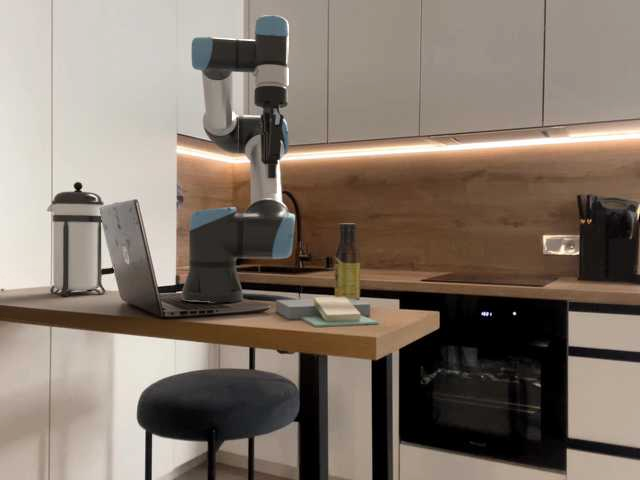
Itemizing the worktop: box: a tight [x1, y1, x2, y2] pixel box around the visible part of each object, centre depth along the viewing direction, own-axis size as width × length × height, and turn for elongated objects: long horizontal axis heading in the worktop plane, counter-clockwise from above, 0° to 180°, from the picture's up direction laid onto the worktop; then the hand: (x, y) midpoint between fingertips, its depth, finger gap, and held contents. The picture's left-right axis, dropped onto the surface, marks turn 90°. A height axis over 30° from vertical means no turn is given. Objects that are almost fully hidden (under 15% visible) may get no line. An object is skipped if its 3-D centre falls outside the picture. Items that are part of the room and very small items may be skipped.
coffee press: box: [46, 181, 115, 298], centre depth 158 cm, size 17×16×30 cm
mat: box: [301, 315, 379, 328], centre depth 118 cm, size 10×13×1 cm
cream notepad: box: [313, 296, 361, 322], centre depth 119 cm, size 9×7×2 cm
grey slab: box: [275, 298, 371, 320], centre depth 128 cm, size 11×18×2 cm, turn 108°
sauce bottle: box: [334, 222, 361, 301], centre depth 144 cm, size 6×6×20 cm
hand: (270, 193), depth 132 cm, fingers closed
